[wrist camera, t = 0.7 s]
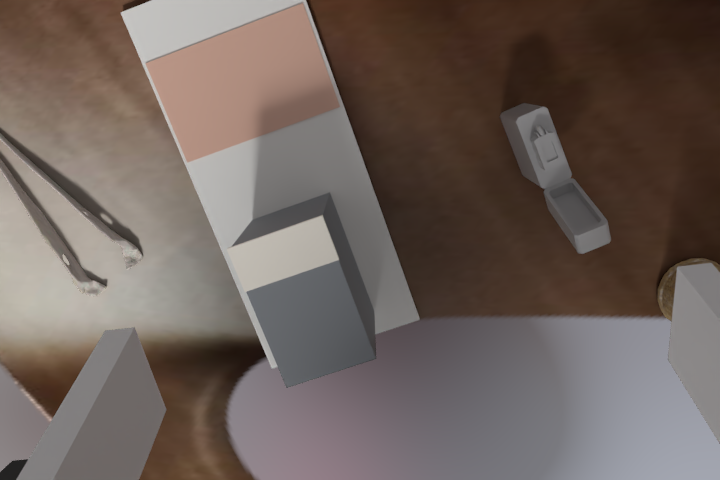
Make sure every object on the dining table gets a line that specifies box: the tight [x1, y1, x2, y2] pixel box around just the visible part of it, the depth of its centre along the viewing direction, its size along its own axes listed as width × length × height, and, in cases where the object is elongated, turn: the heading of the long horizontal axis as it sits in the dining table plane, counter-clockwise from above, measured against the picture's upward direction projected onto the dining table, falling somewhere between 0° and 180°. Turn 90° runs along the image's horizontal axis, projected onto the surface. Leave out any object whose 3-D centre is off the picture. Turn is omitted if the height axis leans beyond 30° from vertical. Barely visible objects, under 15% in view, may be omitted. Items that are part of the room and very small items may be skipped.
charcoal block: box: [227, 192, 376, 388], centre depth 36 cm, size 8×5×7 cm, turn 20°
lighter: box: [500, 103, 611, 254], centre depth 35 cm, size 7×2×8 cm, turn 24°
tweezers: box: [0, 133, 143, 296], centre depth 39 cm, size 17×5×2 cm, turn 38°
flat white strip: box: [121, 0, 420, 368], centre depth 39 cm, size 23×10×1 cm, turn 20°
